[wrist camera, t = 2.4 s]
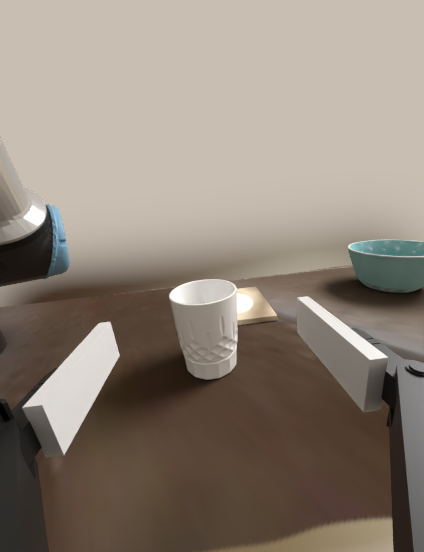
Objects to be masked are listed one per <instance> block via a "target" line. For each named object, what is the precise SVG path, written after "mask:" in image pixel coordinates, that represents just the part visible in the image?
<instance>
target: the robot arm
mask: <svg viewBox="0 0 424 552" xmlns="http://www.w3.org/2000/svg"><path fill="white" fill-rule="evenodd" d="M69 263H70V262H69V254H68V248H67V243H66V238H65V232H64V227H63V223H62V219H61V215H60V212H59V210H58V208H56V207H55V206H50V205H45V204H44V202H43V201H42V199H41V198H40V197H39V196H38V195H37V194H36V193H34V192H33V191H31V190H29V189H28V188H25V187H23V185H22V183H21V181H20V179H19V176H18V174H17V172H16V170H15V168H14V166H13V163H12V161H11V159H10V157H9V155H8V153H7V150H6V148H5V146H4V144H3V142H2V140H1V137H0V287H1V286H6V285H11V284H17V283H22V282H27V281H32V280H38V279H46V278H48V277H49V276H54V275H58V274H62V273H64V272H66V271H67V270H68V268H69ZM297 333H298V334H299V335H300V336H301V337H302V339H303V340H304V341H305V342H306V343H307V345H308V346H309V347H310V348H311V349H312V351H313V352H314V353H315V354H316V355H317V357H318V358H319V359H320V360H321V361H322V363H323V364H324V365H325V366H326V367H327V369H328V370H329V371H330V372H331V373H332V375H333V376H334V377H335V378H336V379H337V381H338V382H339V383H340V384H341V386H342V387H343V388H344V389H345V390H346V392H347V393H348V394H349V395H350V396H351V398H352V399H353V400H354V401H355V402H356V404H357V405H358V406H359V407H360V408H361V410H362V411H363V412H368V411H375V410H380V409H381V402H382V399H383V400H384V401H385V402H386V403H387V404H388V405H389V406H390V408H389V414H388V420H387V426H388V427H389V435H390V463H391V490H392V518H393V545H394V552H424V363H421V362H418V361H414V360H404V359H402V358H401V357H400V356H398V355H397V354H395V353H394V352H393V351H391V350H390V349H388V348H387V347H386V346H384V345H383V344H380V342H379V341H377V340H376V339H374V338H373V337H372V336H370V335H369V334H367V333H366V332H364V331H362V330H359V329H357V328H349V327H348V326H346V325H345V324H344V323H342V322H341V321H340V320H338V319H337V318H336V317H334V316H333V315H332V314H330V313H329V312H328V311H326V310H325V309H324V308H323V307H321V306H320V305H319V304H317V303H316V302H315V301H313V300H312V299H311V298H309V297H308V296H307V297H299V298H297ZM5 347H6V341H5V338H4V336H3V334H2V332H1V331H0V353H1V352H2V351H3V350H4V349H5ZM119 356H120V355H119V351H118V348H117V344H116V341H115V337H114V334H113V330H112V326H111V323H110V322H104V323H99V324H98V325H97V326H96V327H95V328H94V329H93V330H92V331H91V332H90V334H89V335H88V336H87V337H86V338H85V339H84V340H83V341H82V342H81V343H80V345H79V346H78V347H77V348H76V349H75V350H74V351H73V352H72V353H71V354H70V356H69V357H68V358H67V359H66V360H65V361H64V362H63V363H62V364H61V365H60V367H59V368H55V369H54V370H52V371H51V372H49V373H48V374H47V375H45V376H44V377H43V378H42V379H41V380H40V382H39V383H38V384H37V385H36V386H35V387H34V388H33V389H32V390H31V392H29V393H28V394H27V395H26V396H25V397H24V398H23V399H22V401H21V402H20V403H19V404H18V405H17V406H16V407H15V408H14V409H13V410H12V411H11V410H10V408H9V406H8V404H7V402H6V400H5V399H0V552H49V550H48V542H47V535H46V527H45V519H44V511H43V504H42V496H41V488H40V481H39V473H38V465H37V462H36V460H35V456H36V455H37V453H38V452H39V450H40V449H42V451H43V453H44V455H45V457H46V458H48V457H55V456H62V455H64V454H65V453H66V451H67V449H68V447H69V445H70V444H71V442H72V440H73V438H74V436H75V435H76V433H77V431H78V429H79V427H80V426H81V424H82V422H83V420H84V418H85V417H86V415H87V413H88V411H89V410H90V408H91V406H92V404H93V402H94V401H95V399H96V397H97V395H98V393H99V392H100V390H101V388H102V386H103V384H104V383H105V381H106V379H107V377H108V375H109V374H110V372H111V370H112V368H113V366H114V365H115V363H116V361H117V359H118V357H119Z"/></svg>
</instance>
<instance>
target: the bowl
mask: <svg viewBox="0 0 424 552" xmlns="http://www.w3.org/2000/svg"><path fill="white" fill-rule="evenodd" d="M348 250H349V254H350V258H351V261H352V264H353V268H354V271H355V274H356V277H357V278H358V280H359V281H361V282H362V283H363V284H364V285H365V286H367V287H369V288H372V289H375V290H379V291H385V292H393V293H407V292H412V291H415V290H418V289H420V288H423V287H424V242H423V241H412V240H371V241H362V242H357V243H353V244H350V245H349V246H348Z"/></svg>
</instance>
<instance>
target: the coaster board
mask: <svg viewBox="0 0 424 552" xmlns="http://www.w3.org/2000/svg"><path fill="white" fill-rule="evenodd" d="M275 320H277V315H276V313H275V312H274V311H273V309H272V308H271V307H270V305H269V304H268V303H267V301H266V300H265V299H264V297H263V296H262V295H261V293H260V292H259V291H258V289H257V288H256V287H250V288H241V289H237V325H243V324H251V323H259V322H267V321H275Z"/></svg>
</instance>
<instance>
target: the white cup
mask: <svg viewBox="0 0 424 552" xmlns="http://www.w3.org/2000/svg"><path fill="white" fill-rule="evenodd" d="M169 299H170V303H171V308H172V312H173V316H174V321H175V325H176V330H177V333H178V337H179V342H180V345H181V350H182V351H183V354H184V358H185V362H186V366H187V370H188V371H189V372H190V373H191V374H192V375H194V376H195V377H197V378H201V379H206V380H209V379H217V378H221V377H223V376H225V375H226V374H228V373H230V372H231V371H232V369H233V368H234V367H235V366H236V363H237V289H236V286H235V285H234V284H233V283H231V282H228V281H225V280H216V279H208V280H199V281H193V282H189V283H186V284H183V285H181V286H178V287H177V288H175V289H174V290H172V291H171V293H170V294H169Z"/></svg>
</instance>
